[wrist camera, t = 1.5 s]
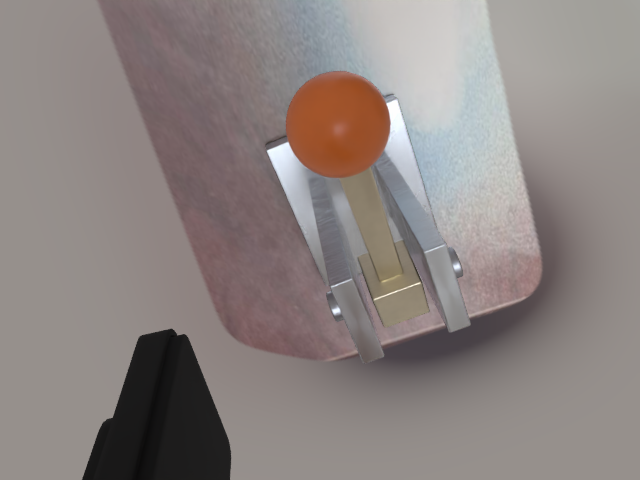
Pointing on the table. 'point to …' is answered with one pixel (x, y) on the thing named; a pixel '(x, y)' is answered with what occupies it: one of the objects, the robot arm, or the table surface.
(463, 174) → the table surface
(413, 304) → the lever
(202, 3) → the table surface
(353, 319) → the bracket
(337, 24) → the table surface
